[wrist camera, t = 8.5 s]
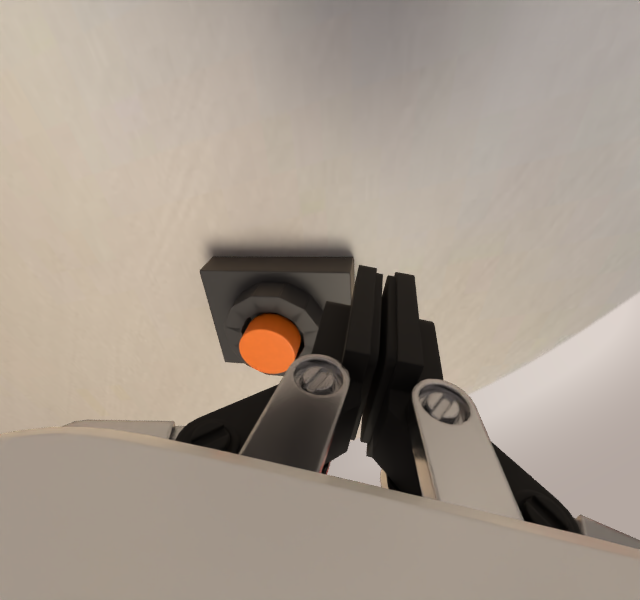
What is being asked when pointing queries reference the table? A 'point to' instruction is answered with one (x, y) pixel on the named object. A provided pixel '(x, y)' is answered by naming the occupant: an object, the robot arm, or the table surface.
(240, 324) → the block
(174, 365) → the table surface
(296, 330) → the button
